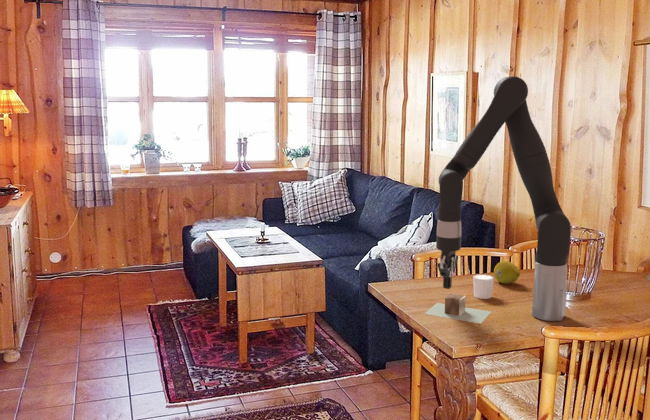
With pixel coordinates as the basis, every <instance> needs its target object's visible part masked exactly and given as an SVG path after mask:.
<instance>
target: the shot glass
mask: <svg viewBox="0 0 650 420" xmlns="http://www.w3.org/2000/svg"><path fill="white" fill-rule="evenodd" d="M472 278H473V280H472V283H473V284H472V285H473V296H474V297H475V298H477V299H480V300H481V299H482V300H484V299H485V300H487V299H491V298H492V296H493V295H492V294H493V287H494V281H495V276H492V275H489V274H480V273H479V274H475V275H473V276H472Z"/></svg>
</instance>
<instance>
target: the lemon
mask: <svg viewBox="0 0 650 420" xmlns="http://www.w3.org/2000/svg"><path fill="white" fill-rule="evenodd" d="M493 275H494V279H496V281H498V283H501V284H505V285H508V284H513V283H515V282H516V281H517V280H518V279H519V278H520V276H521V272H520V270H519V267H518V266H517V265H516V264H514V263H512V262H510V261H507V260H503V261H500V262H498V263H497V264H496V265H495V267H494V269H493Z"/></svg>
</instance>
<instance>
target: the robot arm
mask: <svg viewBox="0 0 650 420" xmlns="http://www.w3.org/2000/svg"><path fill="white" fill-rule="evenodd" d="M528 87H529V86H528V84H527V82H525V80H524V79H523V78H521V77H520V76H519V77H518V76H515V75H514V76H513V75H510V76H506V77H502V78H500V79H499V80H498V81H497V82H496V84H495V86H494V89H493V98H492V100H491V102H490V104H489V106H488V108H487V110H486V111H485V113H484V115H483V116H482V117H481V118H480V119H479V121H478V122H477V123H476V124H475V126H474V127H473V128H472V129H471V131H470V132H469V133H468V134H467V136H466V137H465V139H464V140H463V141H462V143H461V145H460V146H459V148H458V149H457V150H456V152H455V154H454V156H453V157H452V158H451V160H450V161H449V162H447V164H446V165H445V167H444V168H443V169H442V171H441V173H440V174H439V177H438V184H439V185H438V186H439V203H438V207H437V208H438V209H437V224H436V241H435V242H436V250H439V251H441V255H440V256H439V261H440V262H438V263H437V269H438V271H439V275H440V277H442V279H443V281H442V282H443V283H442V288H443V289H447V290H450V289H451V288H452V285H453V284H452V282H453V281H452V280H453V279H452V278H453V276H454V275H453V274H455V272H456V268H457V265H458V264H457V263H458V259H459V255H457V254H456V252H458V251H460V250H461V248H462V231H463V230H462V228H463V227H462V200H463V192H464V191H463V190H464V189H463V188H464V179H465V178H466V176H467V175H468V174H469V172H470V171H471V170H472V169H473V168H474V167H476V165H477V164H478V163H479V161H480V160H481V159H482V157H483V155H484V154H485V152H486V151H487V150H488V148H489V146H490V145H491V143H492V142H493V139H495V137H496V136H497V134H498V132H499V131H500V129H501V128H502V126H504V124H505V125H506V129H507V132H508V137H509V141H510V143H509V144H510V146H511V150H512V154H513V157H514V160H515V164H516V167H517V169H518V173H519V175H520V178H521V180H522V183H523V185H524V187H525V189H526V191H527V193H528V195H529V197H530V200H531V201H530V202H531V205H532V209H533V215H534V219H535V227H536V230H537V245H536V247H537V248H536V252H535V255H534V257H535V258H534V276H533V290H532V291H533V292H532V307H531V316H533V317H534V318H536V319H538V320H541V321H546V322H547V321H549V322H550V321H551V322H554V321H555V322H557V321H558V322H562V321H563V319H564V317H565V316H566V300H567V288H568V287H567V285H566V284H567V283H566V280H567V266H568V264H567V263H568V257H569V254H570V247H571V236H572V235H571V233H572V229H571V228H572V227H571V222H570V219H569V218H568V217H567V216H566V215H565V213H564V210H563V209H562V207H561V205H560V202H559V200H558V197H557V195H556V193H555V188H554V180H553V174H552V172H553V171H552V168H551V163H550V160H549V156H548V153H547V150H546V149H547V148H546V147H545V145H544V142H543V139H542V138H541V135H540V133H539V131H538V130H537V128H536V125H535V124H534V122H533V120H532V118H531V114H530V111H529V107H528V103H527V98H528V96H529V95H528V94H529V88H528Z"/></svg>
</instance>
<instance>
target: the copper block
mask: <svg viewBox="0 0 650 420" xmlns="http://www.w3.org/2000/svg"><path fill="white" fill-rule="evenodd" d="M466 296H467V295H464V294H463V295H460V294H456V293H449V294H448V295H447V296H446V297H445V298H444V304H445V313H446V314H452V315H458V316H461V315H462V314H463V313H464V312H465V307H466V299H467V297H466Z"/></svg>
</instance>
